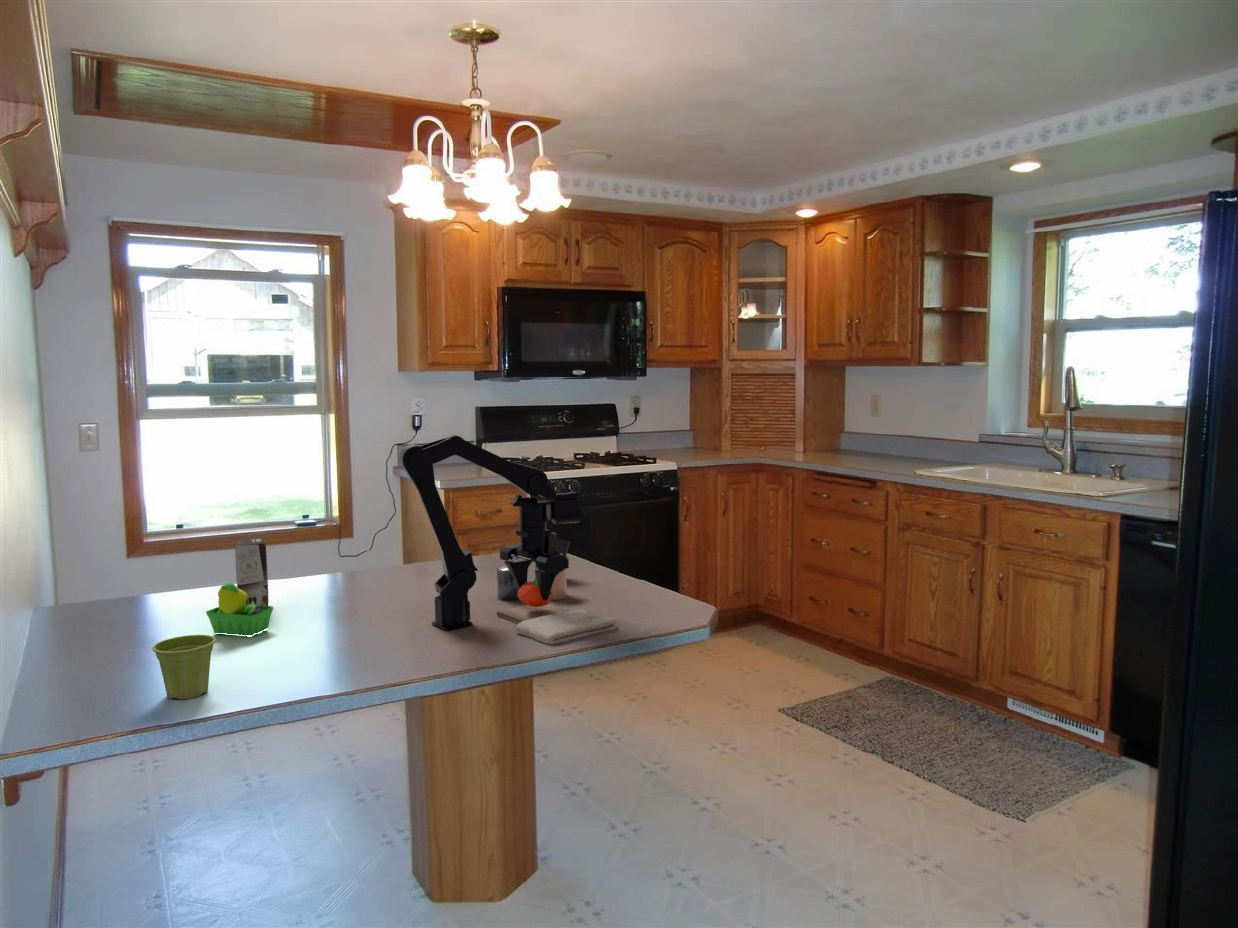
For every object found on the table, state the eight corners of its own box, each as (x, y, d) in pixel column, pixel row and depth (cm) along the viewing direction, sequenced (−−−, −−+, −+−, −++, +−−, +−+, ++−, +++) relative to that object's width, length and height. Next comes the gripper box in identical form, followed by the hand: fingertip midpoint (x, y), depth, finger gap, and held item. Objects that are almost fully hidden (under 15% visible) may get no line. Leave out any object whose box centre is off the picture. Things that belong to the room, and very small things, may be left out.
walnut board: (527, 627, 179) (527, 622, 179) (496, 615, 188) (496, 611, 188) (573, 616, 187) (573, 612, 187) (542, 606, 196) (542, 601, 196)
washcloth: (619, 630, 178) (618, 615, 178) (549, 648, 166) (549, 633, 166) (582, 619, 187) (582, 605, 186) (514, 635, 175) (514, 621, 175)
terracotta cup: (548, 601, 200) (547, 571, 199) (531, 596, 205) (531, 567, 205) (572, 596, 204) (572, 567, 204) (555, 591, 210) (555, 563, 209)
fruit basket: (277, 629, 180) (274, 576, 179) (248, 642, 171) (245, 586, 170) (231, 626, 183) (228, 574, 182) (200, 638, 174) (197, 583, 173)
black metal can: (506, 601, 200) (505, 572, 200) (492, 597, 205) (491, 568, 204) (527, 597, 204) (526, 568, 203) (513, 593, 209) (513, 564, 208)
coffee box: (269, 614, 192) (265, 542, 190) (237, 617, 190) (233, 545, 188) (269, 604, 200) (266, 536, 199) (239, 607, 198) (235, 538, 197)
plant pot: (160, 708, 136) (156, 655, 135) (151, 691, 143) (148, 641, 143) (223, 695, 141) (220, 644, 140) (212, 679, 149) (209, 631, 148)
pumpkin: (538, 601, 192) (541, 573, 192) (556, 609, 186) (559, 579, 186) (510, 602, 188) (512, 573, 188) (527, 610, 182) (530, 580, 182)
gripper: (588, 526, 184) (589, 598, 185) (539, 516, 198) (540, 583, 199) (545, 532, 176) (547, 606, 178) (497, 522, 191) (499, 590, 192)
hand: (534, 596), depth 187 cm, fingers open, 8 cm apart
